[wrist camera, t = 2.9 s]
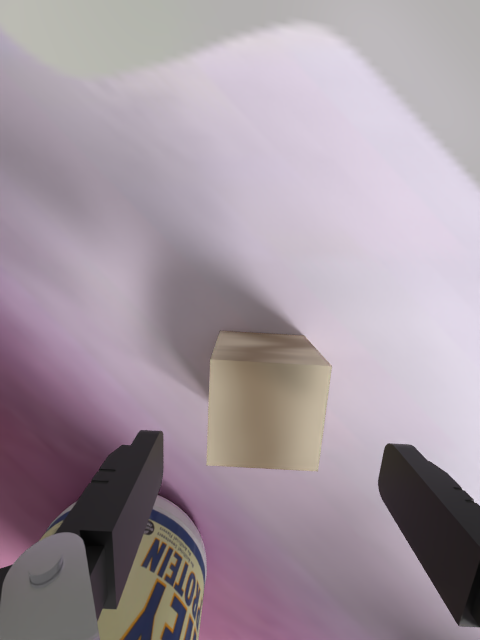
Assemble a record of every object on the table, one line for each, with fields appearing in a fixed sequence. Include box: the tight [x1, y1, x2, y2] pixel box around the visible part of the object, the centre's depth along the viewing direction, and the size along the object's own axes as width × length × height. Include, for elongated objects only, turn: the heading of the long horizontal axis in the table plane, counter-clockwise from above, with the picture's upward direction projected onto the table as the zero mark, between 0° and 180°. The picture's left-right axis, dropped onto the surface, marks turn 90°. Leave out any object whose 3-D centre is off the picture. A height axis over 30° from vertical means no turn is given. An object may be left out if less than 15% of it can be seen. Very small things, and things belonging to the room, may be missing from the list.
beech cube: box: [207, 331, 332, 471], centre depth 15 cm, size 6×6×6 cm
